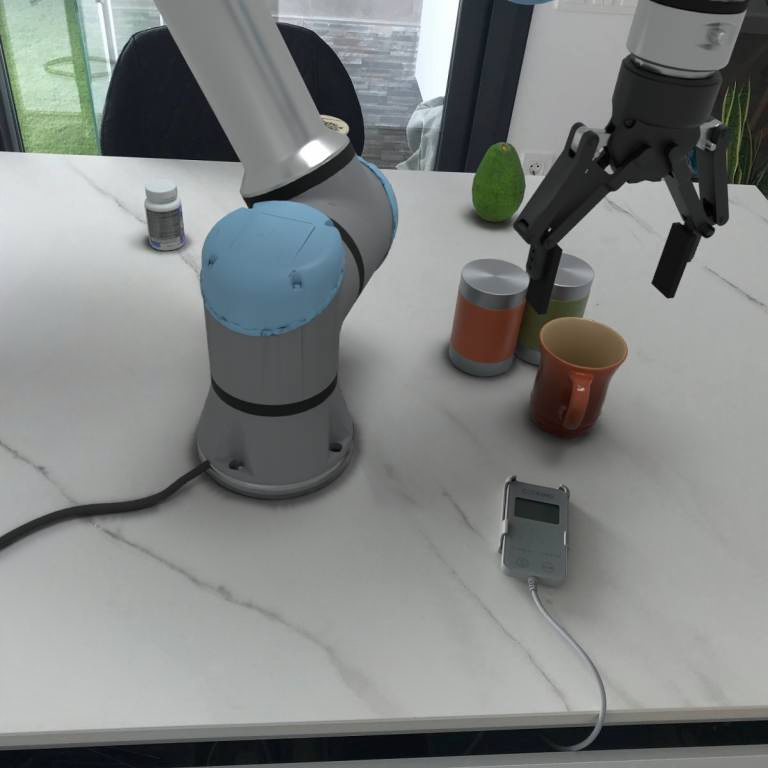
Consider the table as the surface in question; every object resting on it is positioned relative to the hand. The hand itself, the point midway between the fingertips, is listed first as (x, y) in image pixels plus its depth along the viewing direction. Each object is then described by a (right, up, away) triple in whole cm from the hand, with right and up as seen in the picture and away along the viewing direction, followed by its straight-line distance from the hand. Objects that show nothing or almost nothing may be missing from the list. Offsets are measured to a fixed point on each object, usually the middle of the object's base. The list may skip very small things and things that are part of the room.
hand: (600, 298), depth 72 cm
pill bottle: (-50, +11, +34) cm, 61 cm away
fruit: (-4, +17, +46) cm, 49 cm away
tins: (-5, -4, +20) cm, 21 cm away
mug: (-1, -13, +10) cm, 16 cm away
